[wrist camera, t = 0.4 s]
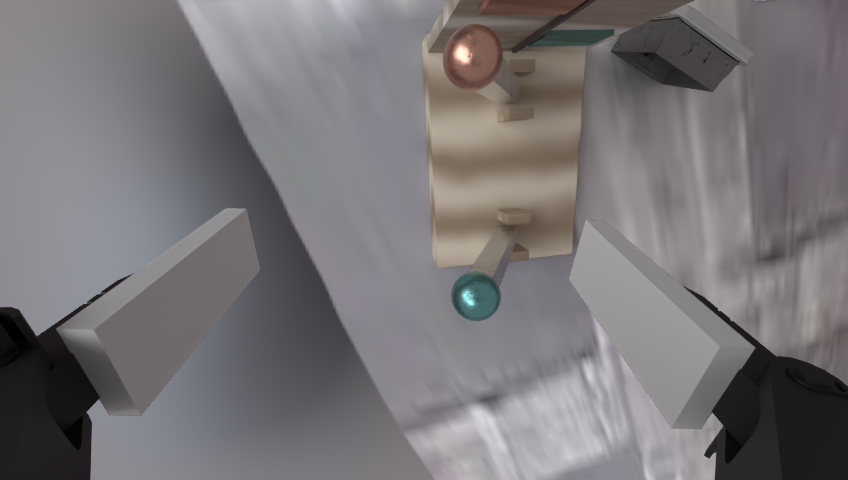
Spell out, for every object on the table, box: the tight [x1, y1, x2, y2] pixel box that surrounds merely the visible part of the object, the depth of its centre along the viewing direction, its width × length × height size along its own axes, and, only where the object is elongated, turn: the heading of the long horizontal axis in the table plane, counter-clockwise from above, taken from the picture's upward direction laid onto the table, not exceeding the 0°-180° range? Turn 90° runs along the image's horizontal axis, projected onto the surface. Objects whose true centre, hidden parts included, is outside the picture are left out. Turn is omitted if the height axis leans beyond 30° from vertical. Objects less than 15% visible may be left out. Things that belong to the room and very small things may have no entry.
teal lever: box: [451, 225, 517, 321], centre depth 28 cm, size 3×3×17 cm
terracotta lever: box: [443, 24, 520, 105], centre depth 24 cm, size 3×3×17 cm
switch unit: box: [422, 0, 694, 268], centre depth 29 cm, size 23×16×19 cm
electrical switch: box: [611, 4, 755, 92], centre depth 33 cm, size 9×5×9 cm, turn 66°
